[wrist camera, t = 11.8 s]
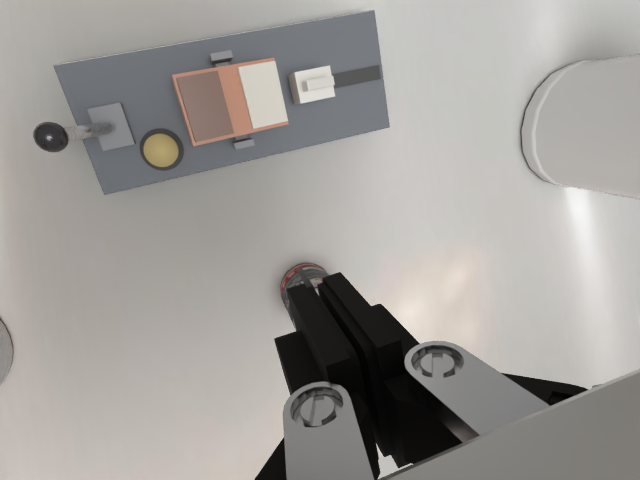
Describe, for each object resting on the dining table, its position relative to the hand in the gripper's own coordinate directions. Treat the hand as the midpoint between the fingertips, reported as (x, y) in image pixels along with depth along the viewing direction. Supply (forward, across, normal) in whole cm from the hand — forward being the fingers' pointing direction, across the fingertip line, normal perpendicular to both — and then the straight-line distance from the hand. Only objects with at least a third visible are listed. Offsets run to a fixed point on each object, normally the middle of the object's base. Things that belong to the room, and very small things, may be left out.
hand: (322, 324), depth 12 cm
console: (+29, -2, -7) cm, 30 cm away
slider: (+26, -8, -7) cm, 28 cm away
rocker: (+24, -1, -7) cm, 25 cm away
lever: (+25, +8, -7) cm, 27 cm away
